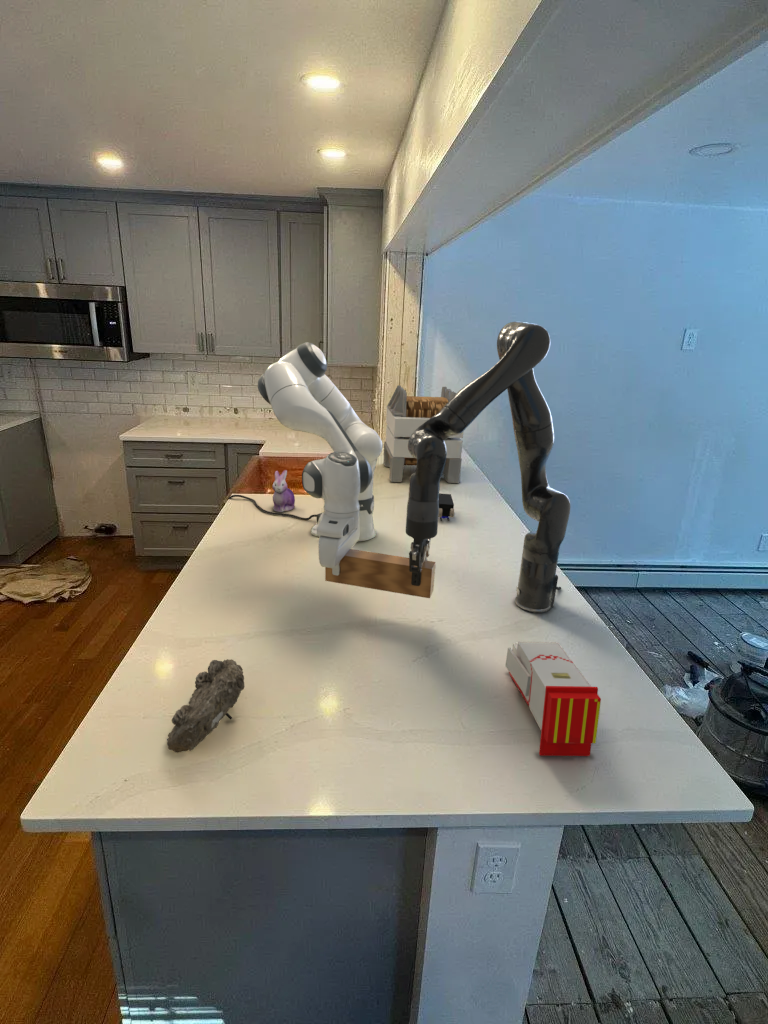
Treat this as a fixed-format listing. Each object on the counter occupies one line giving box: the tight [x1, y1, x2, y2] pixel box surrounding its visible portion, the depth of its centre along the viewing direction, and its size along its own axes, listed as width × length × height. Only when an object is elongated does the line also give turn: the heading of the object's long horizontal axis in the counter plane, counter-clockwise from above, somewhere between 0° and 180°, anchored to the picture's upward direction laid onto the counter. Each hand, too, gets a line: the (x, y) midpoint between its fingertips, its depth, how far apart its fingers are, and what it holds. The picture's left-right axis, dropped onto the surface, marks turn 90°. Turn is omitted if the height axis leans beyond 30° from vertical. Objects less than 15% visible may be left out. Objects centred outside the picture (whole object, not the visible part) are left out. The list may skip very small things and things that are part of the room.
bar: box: [324, 548, 436, 599], centre depth 142 cm, size 27×4×8 cm, turn 74°
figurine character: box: [438, 492, 455, 522], centre depth 217 cm, size 7×8×15 cm
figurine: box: [272, 469, 296, 513], centre depth 217 cm, size 9×10×15 cm
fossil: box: [166, 658, 245, 754], centre depth 106 cm, size 22×10×15 cm
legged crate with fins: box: [383, 384, 465, 484], centre depth 268 cm, size 34×33×41 cm
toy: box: [505, 641, 602, 757], centre depth 113 cm, size 12×13×30 cm
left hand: (340, 569), depth 145 cm, fingers closed on bar, 4 cm apart
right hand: (418, 580), depth 139 cm, fingers closed on bar, 4 cm apart
